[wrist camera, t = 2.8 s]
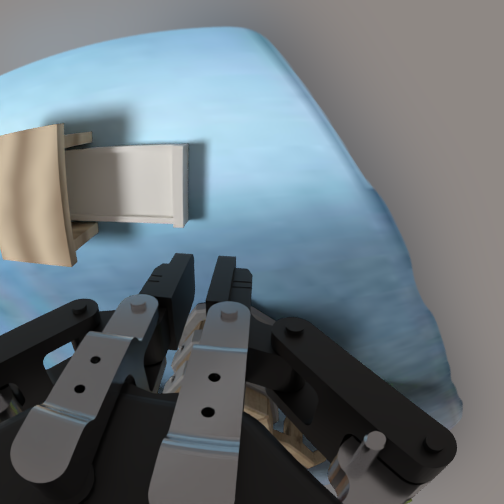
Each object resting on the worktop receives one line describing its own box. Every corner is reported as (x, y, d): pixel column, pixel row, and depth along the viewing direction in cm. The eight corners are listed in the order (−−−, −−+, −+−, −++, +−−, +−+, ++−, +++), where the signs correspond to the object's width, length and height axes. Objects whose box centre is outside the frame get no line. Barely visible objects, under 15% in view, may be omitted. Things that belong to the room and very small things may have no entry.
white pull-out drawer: (188, 143, 29) (182, 145, 27) (188, 220, 32) (183, 227, 30) (64, 150, 29) (52, 153, 27) (69, 216, 32) (59, 223, 30)
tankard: (164, 345, 39) (132, 435, 26) (214, 281, 35) (189, 378, 21) (280, 405, 44) (284, 489, 30) (339, 357, 39) (363, 449, 26)
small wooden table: (91, 120, 28) (56, 124, 22) (99, 241, 33) (71, 267, 27) (22, 132, 28) (-15, 139, 22) (33, 238, 33) (3, 259, 27)
